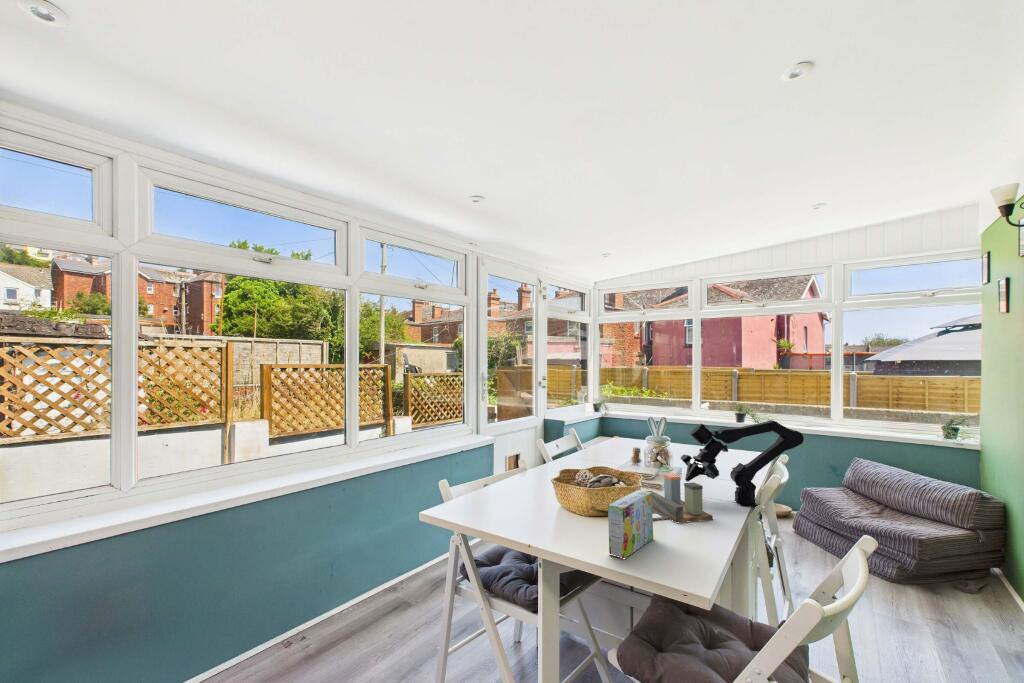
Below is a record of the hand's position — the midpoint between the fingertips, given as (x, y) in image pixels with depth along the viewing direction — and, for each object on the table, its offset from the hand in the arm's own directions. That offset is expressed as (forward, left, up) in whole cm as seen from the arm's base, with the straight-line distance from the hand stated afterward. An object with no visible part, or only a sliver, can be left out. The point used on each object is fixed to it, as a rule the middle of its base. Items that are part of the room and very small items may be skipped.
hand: (686, 480), depth 187 cm
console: (+7, +10, -9) cm, 15 cm away
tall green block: (+3, +16, -8) cm, 18 cm away
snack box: (+32, +44, -10) cm, 56 cm away
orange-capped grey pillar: (+6, +2, -8) cm, 10 cm away
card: (+18, +13, -9) cm, 24 cm away
